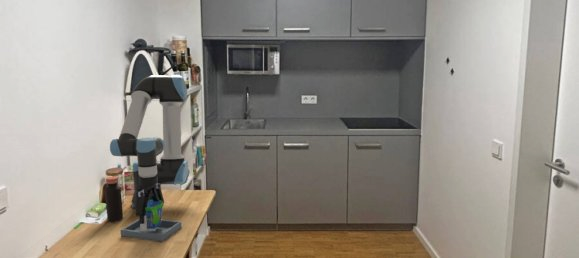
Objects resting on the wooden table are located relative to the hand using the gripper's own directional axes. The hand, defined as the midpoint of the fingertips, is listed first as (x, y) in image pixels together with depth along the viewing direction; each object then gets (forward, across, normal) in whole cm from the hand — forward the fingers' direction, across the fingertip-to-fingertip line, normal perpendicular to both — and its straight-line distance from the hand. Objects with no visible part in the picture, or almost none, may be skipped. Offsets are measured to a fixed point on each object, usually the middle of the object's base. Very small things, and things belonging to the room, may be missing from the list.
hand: (151, 225), depth 193 cm
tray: (+3, 0, 0) cm, 3 cm away
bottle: (+3, -8, -25) cm, 26 cm away
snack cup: (0, 0, 0) cm, 0 cm away
